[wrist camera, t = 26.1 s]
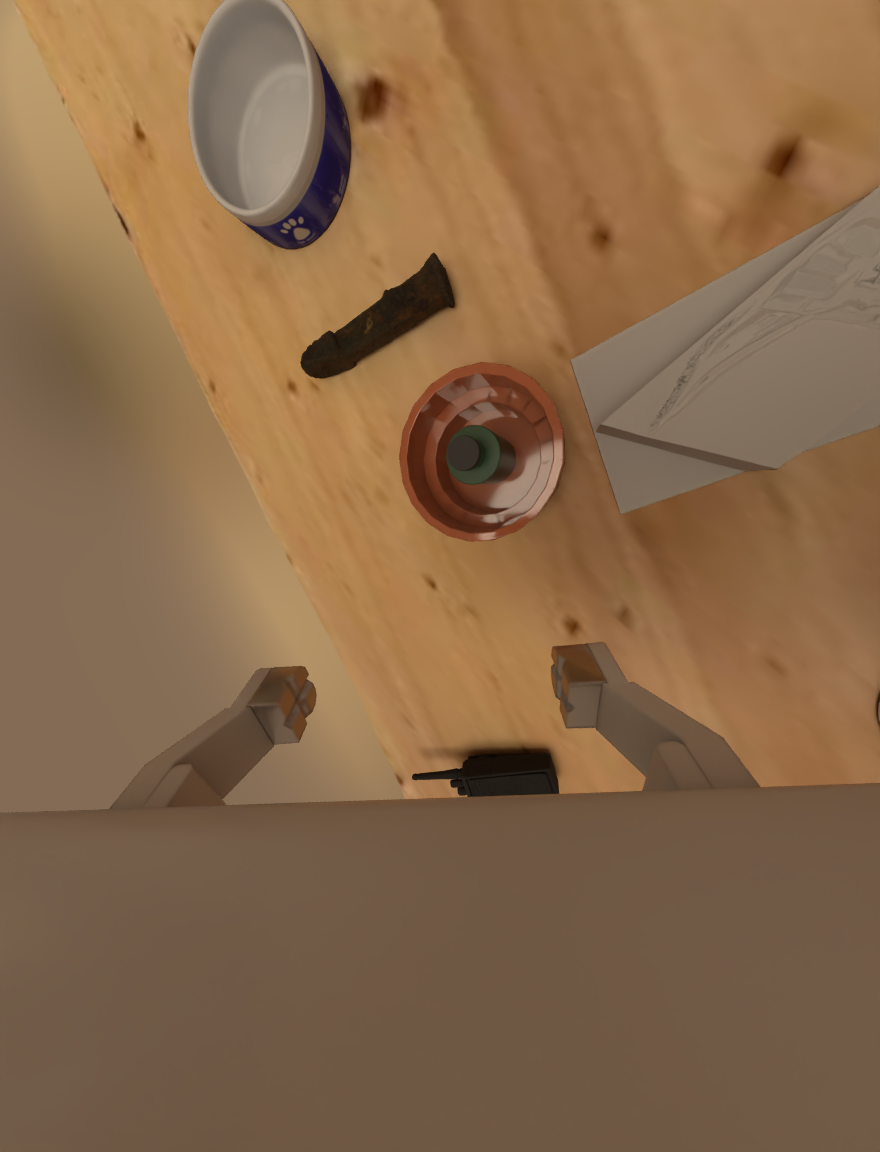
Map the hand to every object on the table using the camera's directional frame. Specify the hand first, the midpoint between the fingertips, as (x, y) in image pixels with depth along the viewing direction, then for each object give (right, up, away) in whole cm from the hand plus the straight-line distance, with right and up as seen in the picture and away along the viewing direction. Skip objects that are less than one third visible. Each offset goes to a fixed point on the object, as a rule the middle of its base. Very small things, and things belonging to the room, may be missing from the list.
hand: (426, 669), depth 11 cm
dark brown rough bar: (-6, +30, +27) cm, 41 cm away
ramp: (+28, +21, +17) cm, 39 cm away
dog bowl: (-16, +48, +26) cm, 57 cm away
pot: (+7, +16, +26) cm, 31 cm away
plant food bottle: (+6, +16, +26) cm, 31 cm away
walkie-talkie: (+7, -24, +38) cm, 46 cm away
